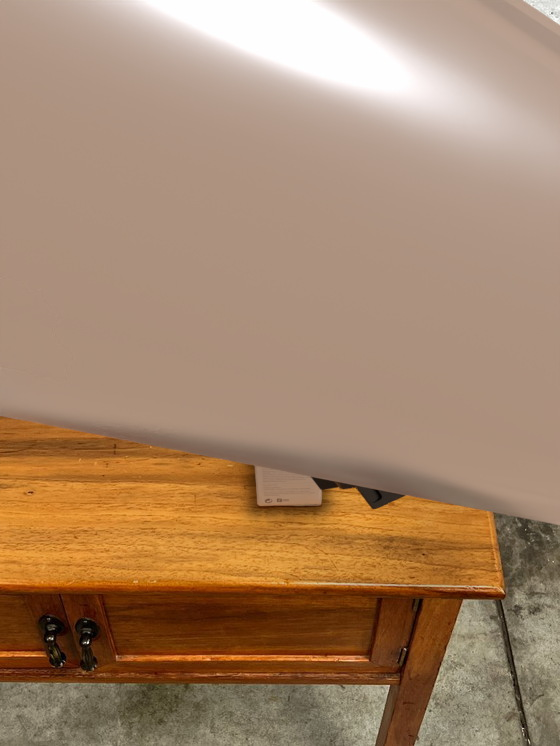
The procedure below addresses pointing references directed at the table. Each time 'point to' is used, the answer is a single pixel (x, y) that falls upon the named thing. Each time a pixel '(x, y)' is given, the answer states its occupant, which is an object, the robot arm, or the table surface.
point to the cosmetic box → (285, 488)
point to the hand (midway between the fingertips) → (358, 413)
